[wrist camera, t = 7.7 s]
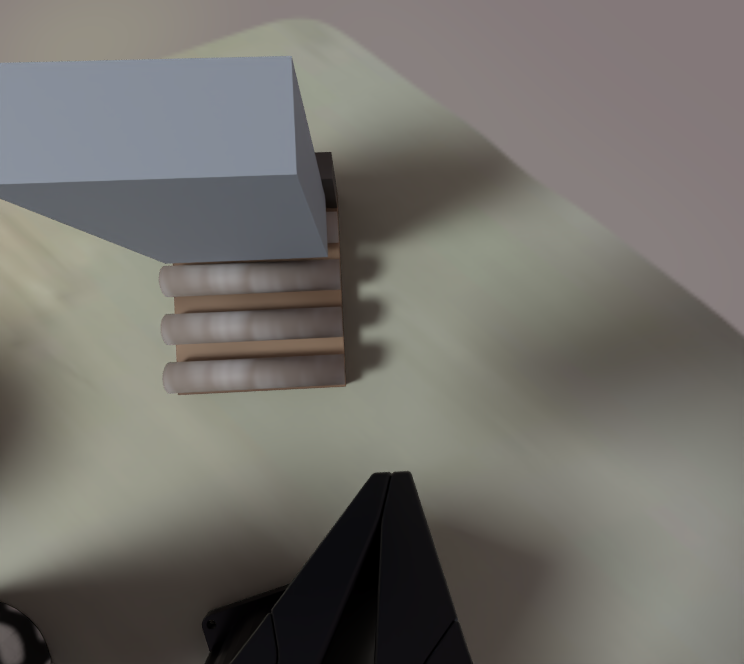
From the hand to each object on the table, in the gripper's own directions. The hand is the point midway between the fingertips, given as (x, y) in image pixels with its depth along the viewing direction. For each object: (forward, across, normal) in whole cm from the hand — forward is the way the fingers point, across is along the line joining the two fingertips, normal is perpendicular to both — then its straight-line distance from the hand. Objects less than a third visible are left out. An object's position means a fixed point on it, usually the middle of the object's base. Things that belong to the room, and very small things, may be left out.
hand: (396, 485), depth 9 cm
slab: (+13, +8, -4) cm, 16 cm away
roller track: (+14, +9, -1) cm, 16 cm away
